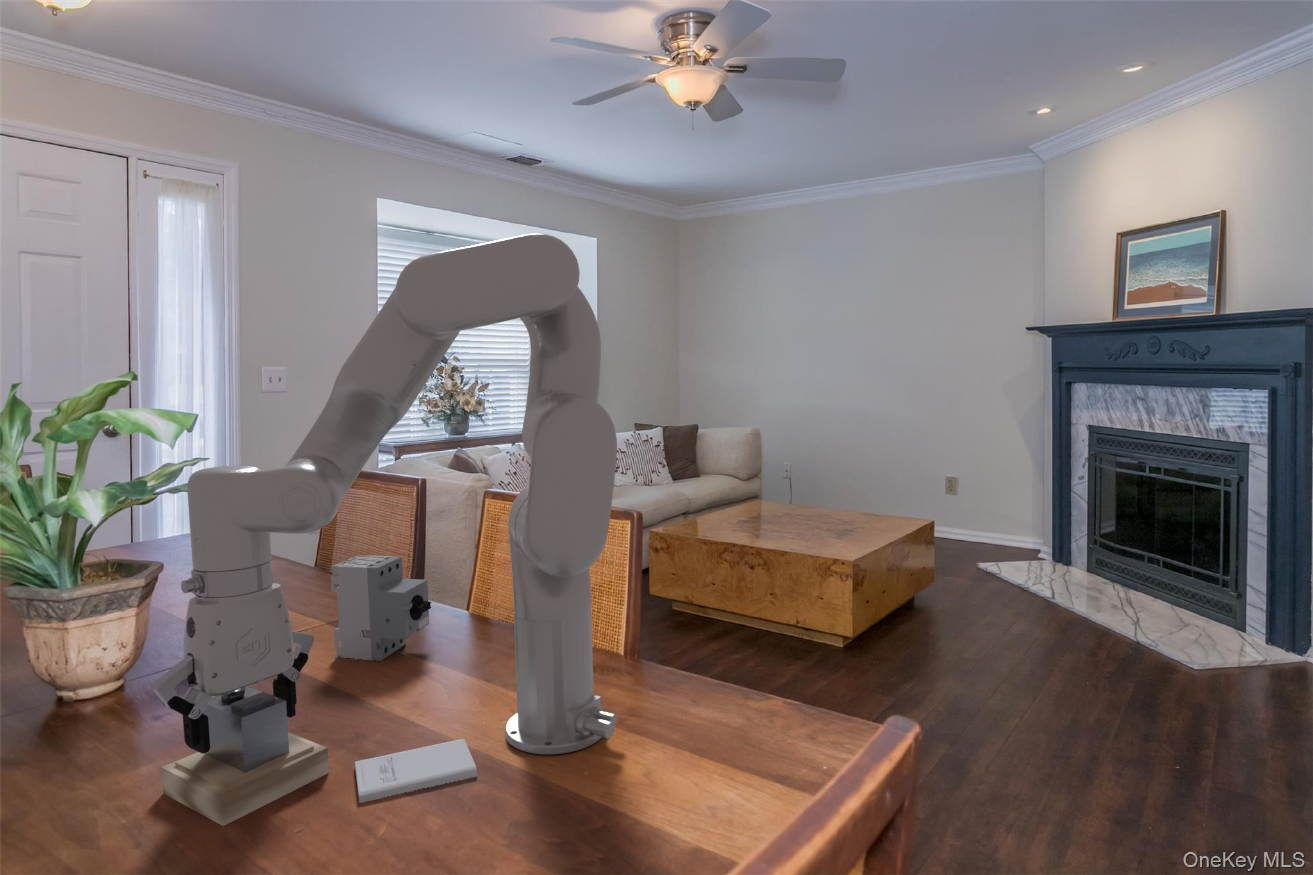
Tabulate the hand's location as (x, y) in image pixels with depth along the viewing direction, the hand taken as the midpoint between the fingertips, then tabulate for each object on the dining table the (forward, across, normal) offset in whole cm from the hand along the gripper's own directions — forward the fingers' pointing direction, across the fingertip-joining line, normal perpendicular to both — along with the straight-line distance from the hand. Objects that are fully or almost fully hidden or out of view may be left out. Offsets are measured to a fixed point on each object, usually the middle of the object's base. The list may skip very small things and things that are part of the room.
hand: (244, 731), depth 86 cm
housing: (+3, 0, 0) cm, 3 cm away
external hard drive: (+7, +11, -14) cm, 19 cm away
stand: (+6, 0, 0) cm, 6 cm away
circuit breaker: (+6, +35, +20) cm, 41 cm away
